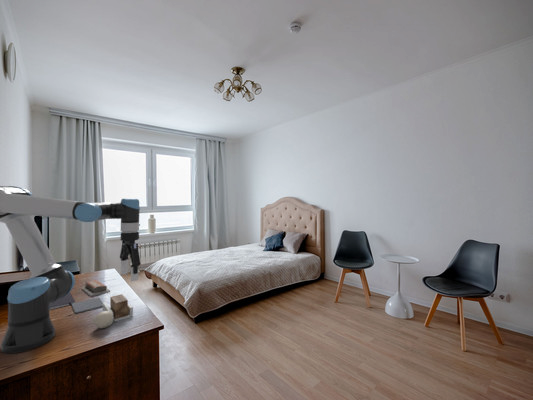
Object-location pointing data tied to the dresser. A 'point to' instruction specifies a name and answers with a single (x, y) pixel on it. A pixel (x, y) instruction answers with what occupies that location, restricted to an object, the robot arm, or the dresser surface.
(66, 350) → the dresser surface
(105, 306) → the rack
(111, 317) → the cream piece
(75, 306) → the felt pad
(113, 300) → the panel
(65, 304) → the notebook
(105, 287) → the packaged product
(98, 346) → the dresser surface
